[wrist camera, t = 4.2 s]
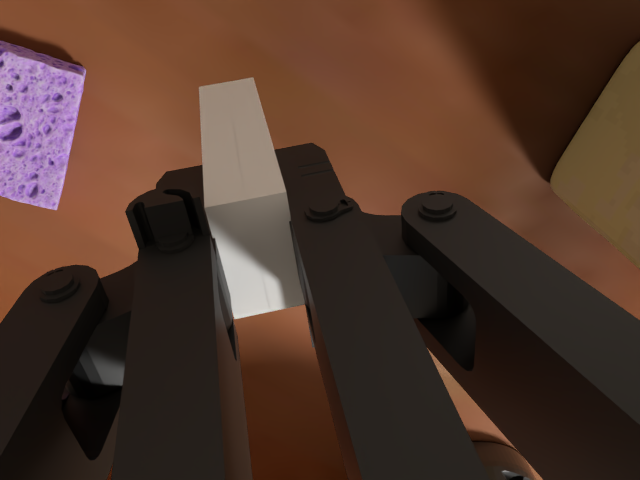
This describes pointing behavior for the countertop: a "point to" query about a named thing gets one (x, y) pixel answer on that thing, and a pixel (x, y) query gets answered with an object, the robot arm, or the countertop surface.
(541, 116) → the countertop surface
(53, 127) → the sponges
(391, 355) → the robot arm
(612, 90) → the cheese
